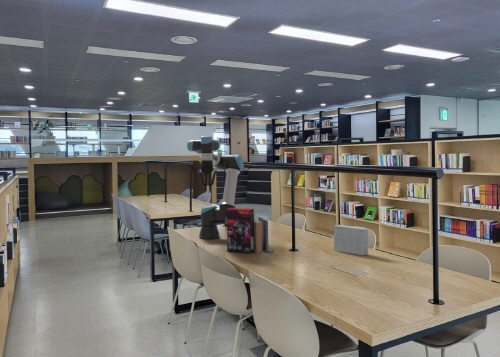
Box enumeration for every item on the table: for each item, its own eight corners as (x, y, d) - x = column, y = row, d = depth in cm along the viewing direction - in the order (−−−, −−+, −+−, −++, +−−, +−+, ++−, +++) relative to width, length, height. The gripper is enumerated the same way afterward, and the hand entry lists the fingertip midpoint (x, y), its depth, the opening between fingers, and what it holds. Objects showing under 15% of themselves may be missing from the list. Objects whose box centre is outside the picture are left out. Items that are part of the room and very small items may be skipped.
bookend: (258, 246, 262) (258, 216, 261) (266, 246, 264) (265, 216, 262) (266, 252, 247) (265, 220, 246) (274, 252, 248) (273, 220, 247)
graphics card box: (226, 251, 251) (225, 208, 250) (231, 249, 258) (230, 207, 256) (251, 253, 245) (250, 210, 243) (255, 251, 251) (254, 208, 249)
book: (250, 248, 259) (250, 219, 258) (256, 247, 260) (255, 219, 259) (256, 252, 247) (256, 222, 246) (262, 252, 248) (261, 222, 247)
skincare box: (368, 254, 240) (368, 228, 239) (364, 256, 236) (364, 229, 235) (337, 248, 254) (337, 224, 253) (333, 250, 250) (333, 225, 249)
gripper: (197, 160, 254) (198, 196, 256) (217, 159, 258) (218, 195, 259) (196, 160, 261) (197, 195, 263) (215, 159, 265) (216, 194, 267)
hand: (207, 195), depth 261 cm, fingers closed
